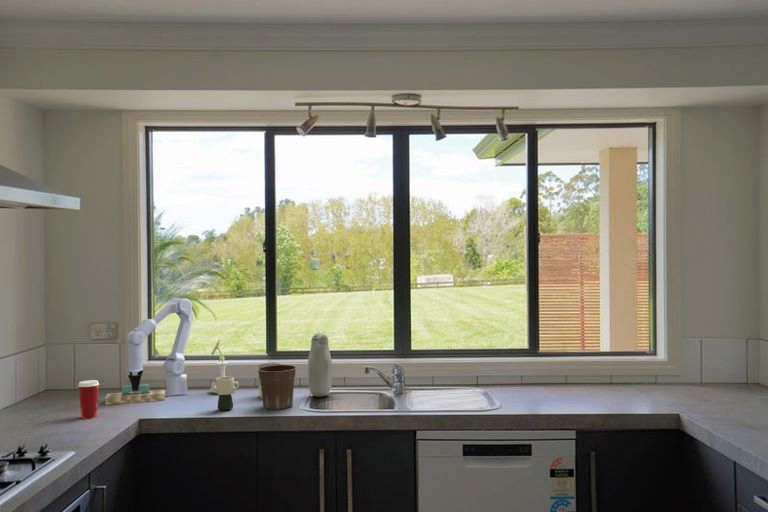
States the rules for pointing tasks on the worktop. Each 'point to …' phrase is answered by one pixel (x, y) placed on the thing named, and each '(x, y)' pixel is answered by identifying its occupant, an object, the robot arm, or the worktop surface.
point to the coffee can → (259, 379)
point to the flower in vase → (220, 364)
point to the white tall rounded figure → (319, 366)
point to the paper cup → (88, 398)
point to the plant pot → (277, 385)
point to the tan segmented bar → (135, 397)
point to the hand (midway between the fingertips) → (135, 389)
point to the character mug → (225, 391)
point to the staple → (142, 388)
